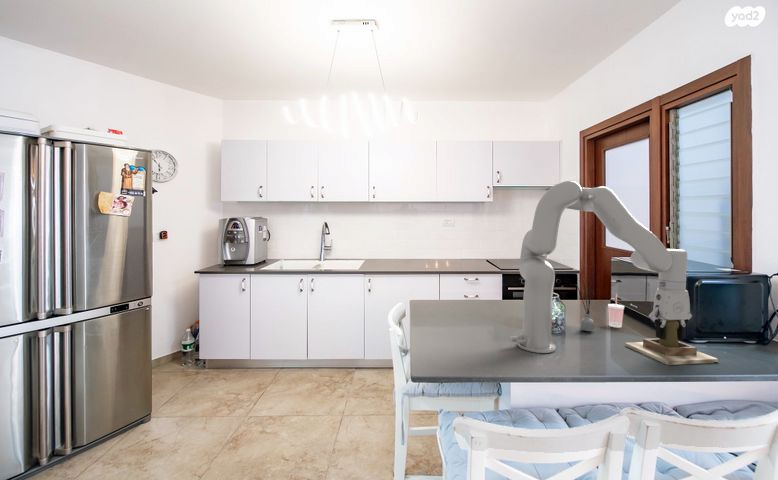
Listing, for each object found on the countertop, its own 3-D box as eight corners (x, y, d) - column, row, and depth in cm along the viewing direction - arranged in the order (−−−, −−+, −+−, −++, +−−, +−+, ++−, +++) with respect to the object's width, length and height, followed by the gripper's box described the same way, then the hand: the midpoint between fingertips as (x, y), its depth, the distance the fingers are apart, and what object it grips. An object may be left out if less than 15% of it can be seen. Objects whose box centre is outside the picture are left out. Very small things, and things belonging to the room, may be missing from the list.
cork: (680, 354, 125) (681, 321, 124) (657, 351, 128) (659, 318, 127) (678, 349, 130) (679, 317, 129) (656, 346, 133) (658, 315, 132)
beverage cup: (620, 328, 158) (621, 295, 157) (604, 325, 163) (605, 293, 162) (625, 326, 162) (627, 294, 161) (610, 323, 166) (611, 291, 166)
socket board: (667, 364, 119) (668, 353, 118) (625, 345, 137) (625, 335, 136) (717, 362, 121) (718, 351, 121) (669, 344, 139) (670, 334, 139)
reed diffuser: (597, 335, 149) (599, 285, 148) (578, 333, 151) (580, 284, 150) (588, 327, 159) (590, 280, 158) (571, 326, 161) (572, 280, 160)
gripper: (658, 287, 123) (655, 342, 124) (704, 287, 125) (702, 340, 126) (639, 284, 130) (637, 335, 131) (684, 283, 132) (681, 333, 133)
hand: (669, 337), depth 128 cm, fingers open, 6 cm apart
